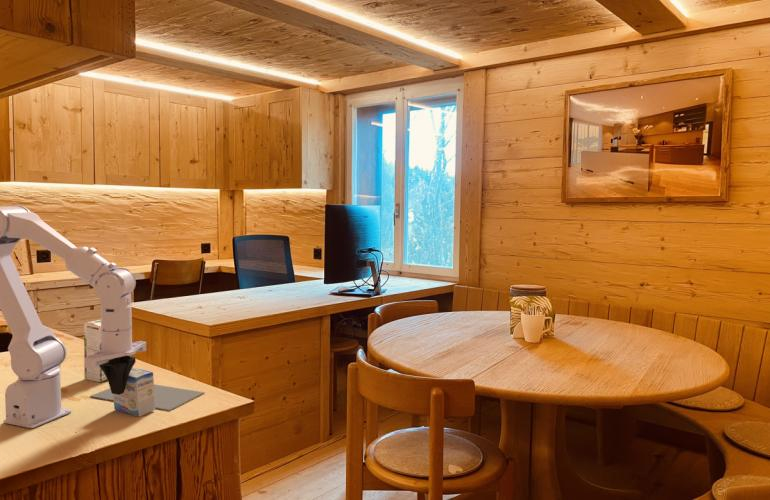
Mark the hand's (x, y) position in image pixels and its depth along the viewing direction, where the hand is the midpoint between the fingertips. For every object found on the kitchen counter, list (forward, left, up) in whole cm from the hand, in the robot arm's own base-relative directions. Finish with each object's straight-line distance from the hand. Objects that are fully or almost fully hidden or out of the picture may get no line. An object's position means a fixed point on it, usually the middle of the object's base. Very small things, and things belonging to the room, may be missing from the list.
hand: (117, 393), depth 119 cm
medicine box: (+5, 0, -6) cm, 7 cm away
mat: (+13, +4, -5) cm, 15 cm away
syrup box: (+19, +23, -6) cm, 30 cm away
